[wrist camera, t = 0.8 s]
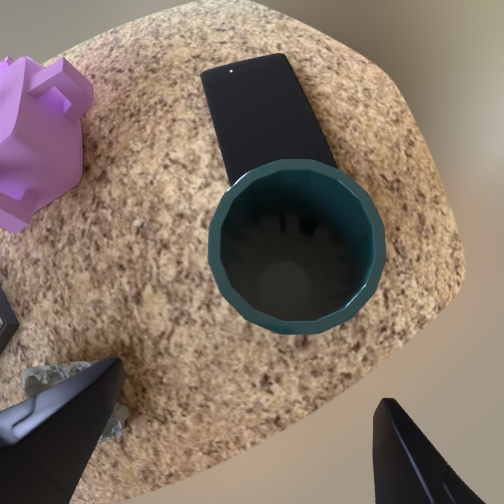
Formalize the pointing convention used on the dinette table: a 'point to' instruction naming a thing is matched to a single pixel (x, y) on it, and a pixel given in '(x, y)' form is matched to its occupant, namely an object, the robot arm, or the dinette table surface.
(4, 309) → the scale
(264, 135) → the cell phone
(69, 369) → the egg carton
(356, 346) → the dinette table surface
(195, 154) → the dinette table surface
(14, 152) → the teakettle
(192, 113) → the dinette table surface
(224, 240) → the tumbler
